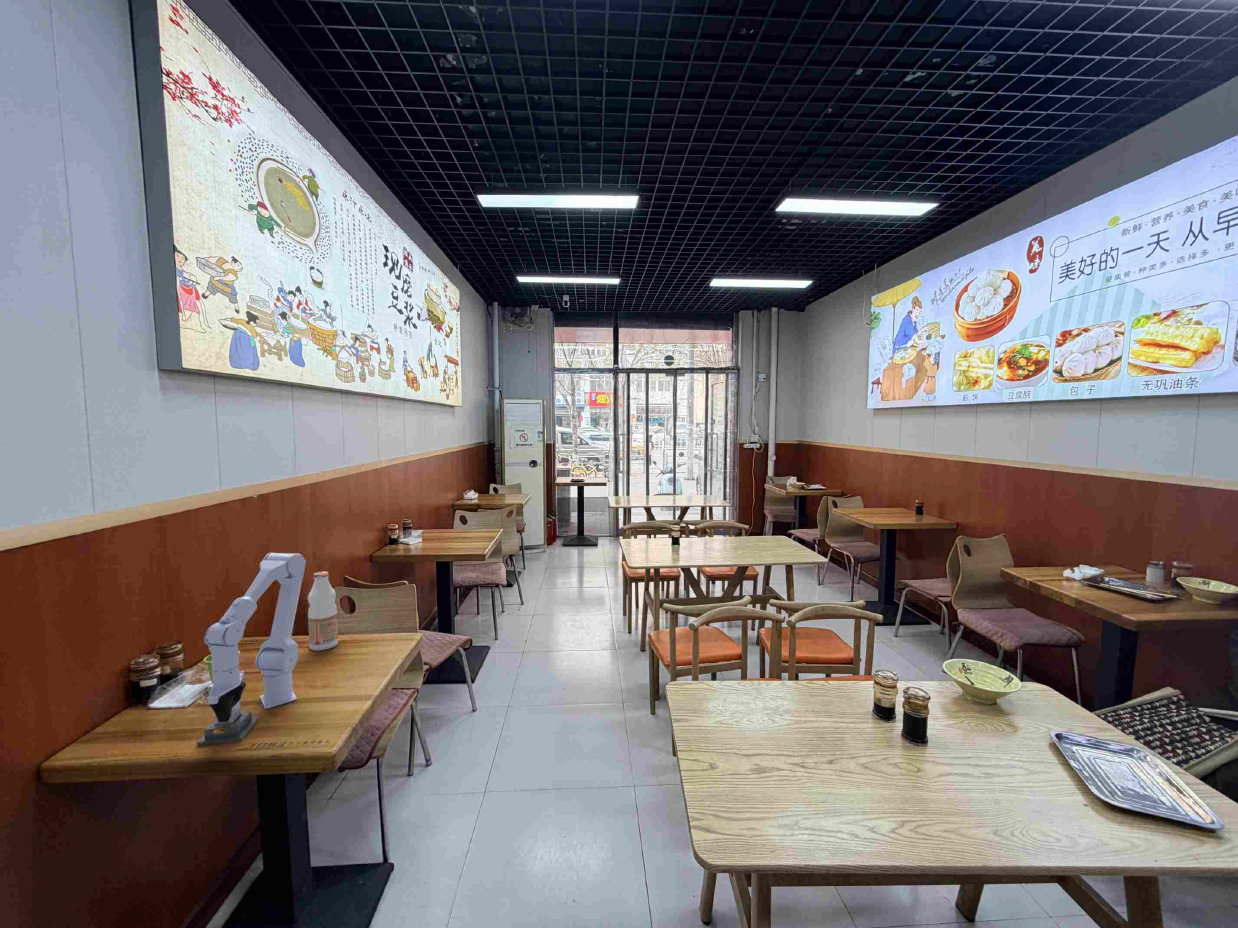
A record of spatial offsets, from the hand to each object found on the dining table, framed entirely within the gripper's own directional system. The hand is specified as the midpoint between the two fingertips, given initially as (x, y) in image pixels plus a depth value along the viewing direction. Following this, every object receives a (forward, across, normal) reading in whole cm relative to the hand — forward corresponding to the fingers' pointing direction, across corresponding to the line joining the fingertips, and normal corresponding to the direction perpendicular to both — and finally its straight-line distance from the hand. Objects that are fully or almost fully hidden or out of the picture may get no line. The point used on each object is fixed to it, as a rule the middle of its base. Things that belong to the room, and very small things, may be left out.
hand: (228, 716), depth 138 cm
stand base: (+4, 0, 0) cm, 4 cm away
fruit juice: (+5, -56, +6) cm, 57 cm away
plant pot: (+5, -33, -17) cm, 37 cm away
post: (+3, 0, 0) cm, 3 cm away
